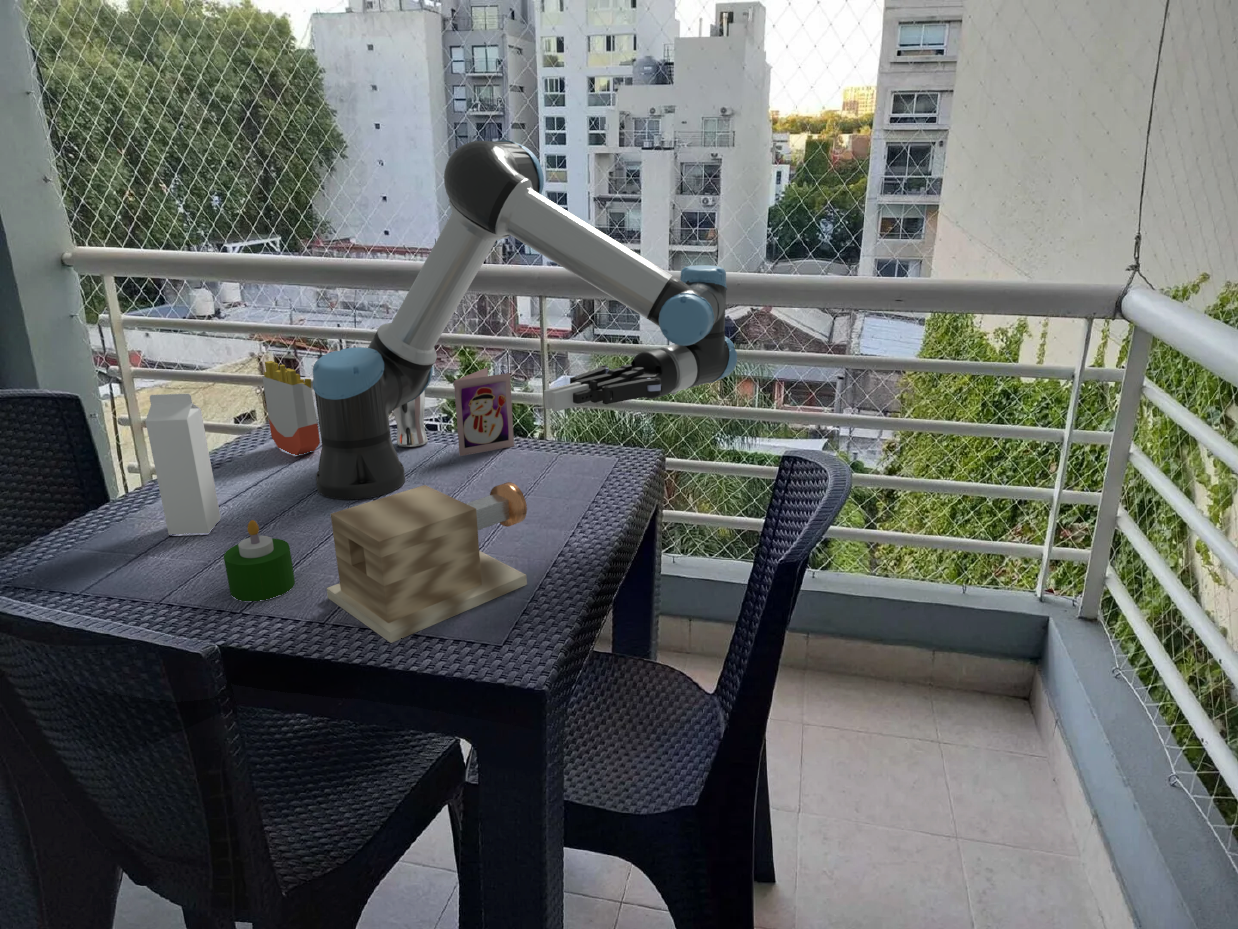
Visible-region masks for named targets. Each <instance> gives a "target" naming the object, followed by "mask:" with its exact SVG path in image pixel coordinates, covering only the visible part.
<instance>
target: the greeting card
mask: <svg viewBox="0 0 1238 929" xmlns="http://www.w3.org/2000/svg"><path fill="white" fill-rule="evenodd" d="M488 369H489V368H488V367H485V368H482V369H480V370H478V371H475V372H473V373H470V374H468V375H464V376H463V377H460V378H458V379H455V380H453V384H454V385H453V386H454V387H453V388H454V389H453V390H454V399H455V400H454V401H455V411H456V425H457V426H456V428H457V439H458V452H459V454H458V455H459V457H462V456H467V455H474V454H479V453H484V452H490V451H495V450H502V449H506V448H512V447H514V446H515V441H514V440H515V439H514V438H515V437H514V424H513V423H514V422H513V421H514V420H513V418H514V417H513V403H512V400H513V399H512V384H511V383H512V382H511V373H510V372H507V373H501V374H500V373H499V374H493V375H489V371H488Z"/></svg>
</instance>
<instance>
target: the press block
mask: <svg viewBox="0 0 1238 929" xmlns="http://www.w3.org/2000/svg"><path fill="white" fill-rule="evenodd" d="M330 519H331V520H330V521H331V529H332V534H333V543H334V550H335V557H336V566H337V571H338V572H337V573H338V580H339V583H337V584H334V585H331V586H329V587H326V593H327V599H328V600H330V601H331V602H333V603H334V604H336V605H337V606H338V607H339V608H341V609H342V610H344V611H346V612H347V613H348V614H349V615H351V616H352V617H354V618H355V619H357V620H358V621H359V622H361V623H362V624H363V625H365V626H366V627H368V628H370V629H371V630H372V631H373V632H375V633H376V634H377V635H379V636H381V637H382V638H383V639H385V640H386V641H387V642H388V643H390V644H392V643H395V642H397V641H399V640H402V639H404V638H407V637H409V636H410V635H414V634H415V633H418V632H419V631H423V630H425V629H427V628H429V627H432V626H434V625H437V624H440V623H441V622H443V621H446V620H448V619H450V618H452V617H455V616H457V615H458V616H459V614H463V613H464V612H467V611H469V610H472V609H474V608H476V607H478V606H481V605H483V604H486V603H487V602H490V601H492V600H494V599H497V598H499V597H501V596H504V595H507V594H509V593H511V592H513V591H516V590H518V589H521V588H523V587H525V586H527V585H528V582H527V581H528V579H527V577H528V576H527V574H525V573H523V572H522V571H520V570H518V569H516V568H514V567H512V566H510V565H508V564H507V563H504V562H502V561H500V560H499V559H497V558H494V557H492V556H490V555H489V554H486V553H484V552H483V551H481V550H480V544H479V543H480V542H479V530H478V527H477V513H476V508H474V507H472V506H469V505H467V504H466V503H465V502H463V501H461V500H459V499H456V498H454V497H452V496H450V495H447V494H445V493H444V492H441V491H439V490H436V489H434V488H433V487H430V486H428V485H426V484H424V485H423V484H422V485H420V486H417V487H414V488H411V489H406V490H403V491H401V492H397V493H394V494H391V495H388V496H385V497H381V498H377V499H374V500H372V501H368V502H365V503H361V504H359V505H355V506H351V507H348V508H344V509H342V510H338V511H335V512H332V513H330ZM401 638H402V639H401Z"/></svg>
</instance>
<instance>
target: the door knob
mask: <svg viewBox="0 0 1238 929" xmlns="http://www.w3.org/2000/svg"><path fill="white" fill-rule="evenodd" d="M489 492H490V493H489V495H487V496H484V497H481V498H478V499H476V500H473V501H470V502H466V503H465V504H467V505H469V506H472V507H474V508H476V513H477V527H478V531H480V530H483V529H486V528H488V527H492V526H494V525H497V524H499V525H502V526H503V527H506V528H507V527H508V528H509V527H512V526H514V525H516V524H519V523H522V522H523V521H524V520H525V519H526V517H527V511H528V507H527V501H526V498H525V495H524V493H523V492H522V490H521V488H520V487H519V486H518V485H517V484H515V483H514V482H511V481H510V482H509V481H508V482H504V483H501V484H499V485H495V486H493V487H492V489H491V490H490V491H489Z"/></svg>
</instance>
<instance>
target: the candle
mask: <svg viewBox="0 0 1238 929" xmlns="http://www.w3.org/2000/svg"><path fill="white" fill-rule="evenodd" d="M259 532H260V527H259V524H258V523H257V521H255V520H254V519H252V520H250V521H249V522H248V524H247V533H248V535H249V537H247V538H244V539H243V540H241V541H240V542H239V543H238V544H236V545H234V546H231V547H230V548H228V550H226V551H225V553H224V554H223V562H224V566H225V570H226V576H227V582H228V587H229V594H230V596H231V595H232V596H233V597H235V598H236V599H238V600H237V601H239V600H241V601H240V602H243V601H259V602H261V601H260V600H265V601H267V600H266V599H270V598H273V597H276V596H278V595H281V596H283V595H284V593H285V594H287V593H288V592H290V591H291V590H292V589H293V588H294V587H293V586H295V585H296V580H295V573H294V567H293V561H292V554H291V548H290V547H291V546H290V544H289V543H288V541H286V540H284V539H280V538H275V537H274V538H272V537H270V536H268V535H259ZM290 589H291V590H290ZM289 590H290V591H289ZM287 591H288V592H287ZM286 592H287V593H286ZM282 594H283V595H282ZM232 596H231V597H232ZM233 597H232V598H233ZM276 598H277V597H276ZM236 599H235V600H236ZM273 599H274V598H273ZM270 600H271V599H270Z"/></svg>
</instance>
